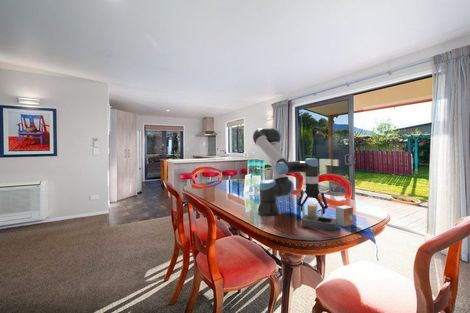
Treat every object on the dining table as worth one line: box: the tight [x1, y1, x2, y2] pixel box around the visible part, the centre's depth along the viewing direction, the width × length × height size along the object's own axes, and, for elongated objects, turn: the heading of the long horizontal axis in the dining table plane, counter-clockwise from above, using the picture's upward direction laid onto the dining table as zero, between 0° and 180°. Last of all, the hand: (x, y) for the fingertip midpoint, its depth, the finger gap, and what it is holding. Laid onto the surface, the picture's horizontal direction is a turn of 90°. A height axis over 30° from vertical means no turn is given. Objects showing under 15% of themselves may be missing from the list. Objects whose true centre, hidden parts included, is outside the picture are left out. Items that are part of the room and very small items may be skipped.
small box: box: [335, 204, 354, 228], centre depth 121 cm, size 8×6×10 cm
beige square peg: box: [306, 203, 319, 217], centre depth 129 cm, size 5×5×10 cm
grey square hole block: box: [300, 214, 338, 233], centre depth 120 cm, size 18×10×4 cm, turn 58°
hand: (312, 217), depth 129 cm, fingers open, 10 cm apart
